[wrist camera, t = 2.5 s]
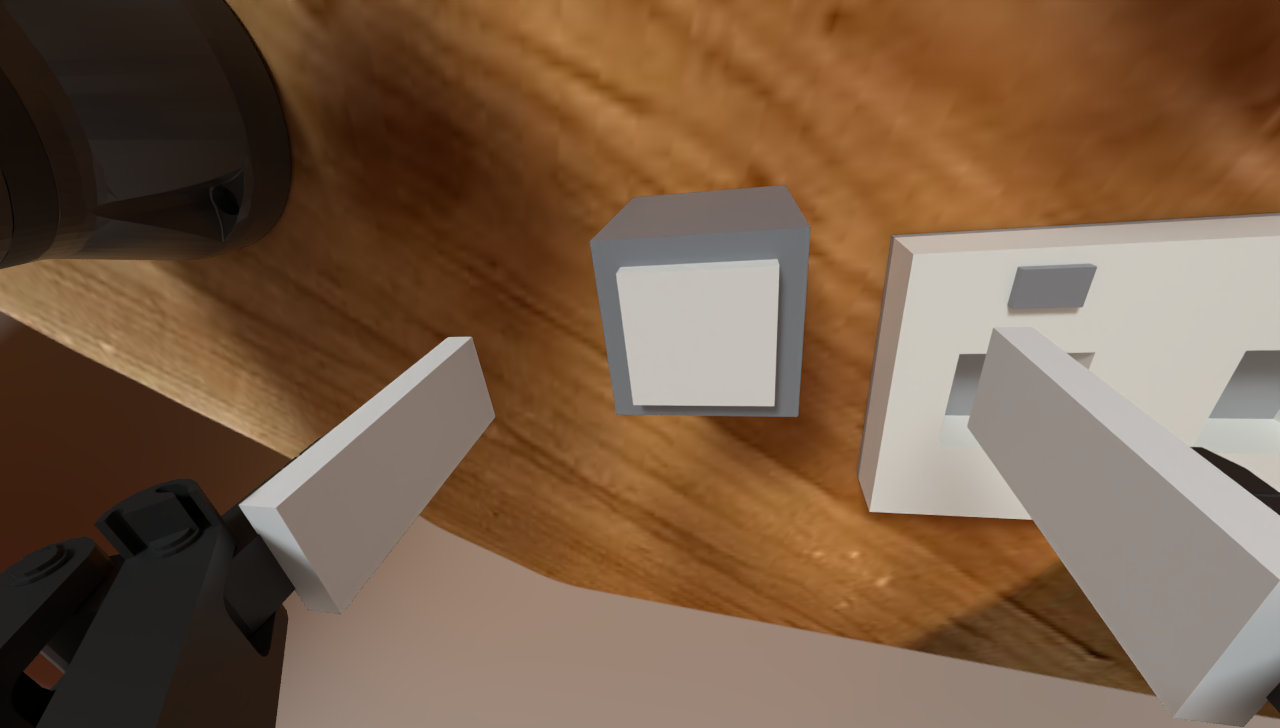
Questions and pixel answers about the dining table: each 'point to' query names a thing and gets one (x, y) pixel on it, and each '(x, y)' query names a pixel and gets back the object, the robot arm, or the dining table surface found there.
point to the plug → (705, 302)
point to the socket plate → (1073, 344)
